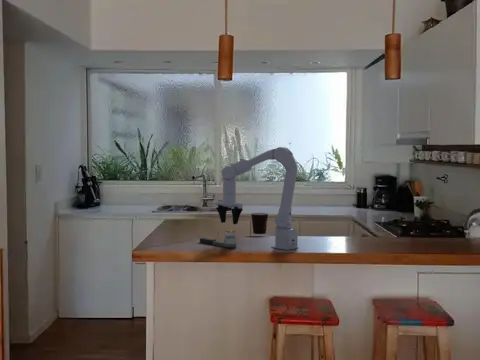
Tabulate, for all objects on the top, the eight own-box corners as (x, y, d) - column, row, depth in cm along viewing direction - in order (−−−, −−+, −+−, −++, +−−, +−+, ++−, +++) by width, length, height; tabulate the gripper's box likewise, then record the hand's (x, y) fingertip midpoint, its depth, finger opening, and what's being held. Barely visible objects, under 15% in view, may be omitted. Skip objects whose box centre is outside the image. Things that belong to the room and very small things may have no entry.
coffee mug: (261, 235, 276) (261, 215, 275) (247, 233, 281) (247, 213, 280) (274, 232, 285) (274, 213, 284) (260, 230, 290) (260, 211, 290)
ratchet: (238, 247, 240) (238, 238, 240) (230, 249, 236) (230, 239, 236) (206, 241, 255) (206, 232, 255) (197, 242, 252) (197, 233, 252)
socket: (236, 243, 238) (236, 231, 238) (226, 244, 237) (226, 231, 237) (234, 241, 243) (234, 229, 243) (223, 242, 242) (223, 230, 242)
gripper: (247, 193, 243) (247, 223, 244) (224, 191, 253) (224, 220, 254) (236, 194, 238) (236, 225, 239) (213, 192, 248) (213, 222, 249)
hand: (229, 223), depth 246 cm, fingers open, 7 cm apart
